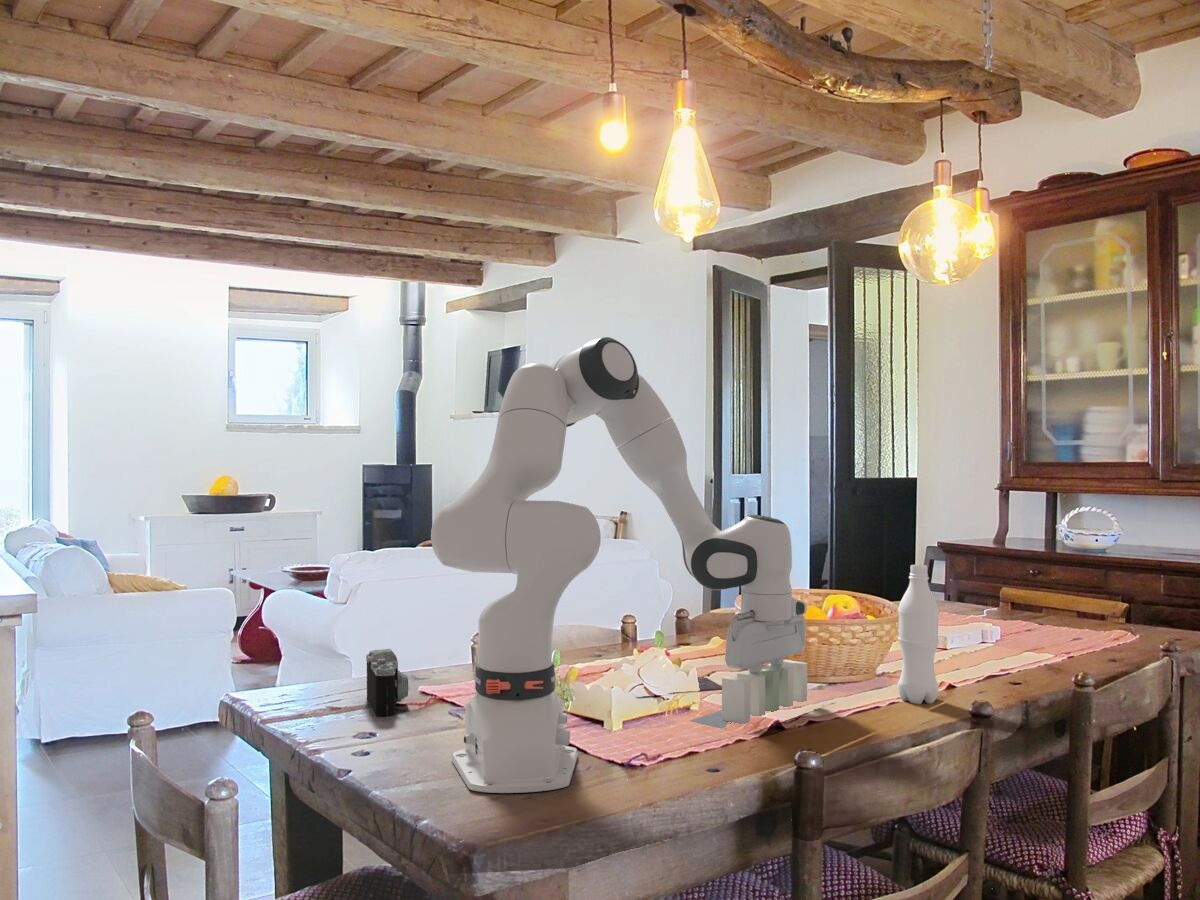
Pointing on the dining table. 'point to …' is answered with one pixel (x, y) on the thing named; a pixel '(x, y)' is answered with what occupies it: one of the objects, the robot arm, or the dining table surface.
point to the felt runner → (712, 720)
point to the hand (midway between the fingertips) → (765, 686)
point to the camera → (384, 682)
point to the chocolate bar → (708, 685)
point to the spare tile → (771, 689)
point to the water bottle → (918, 639)
